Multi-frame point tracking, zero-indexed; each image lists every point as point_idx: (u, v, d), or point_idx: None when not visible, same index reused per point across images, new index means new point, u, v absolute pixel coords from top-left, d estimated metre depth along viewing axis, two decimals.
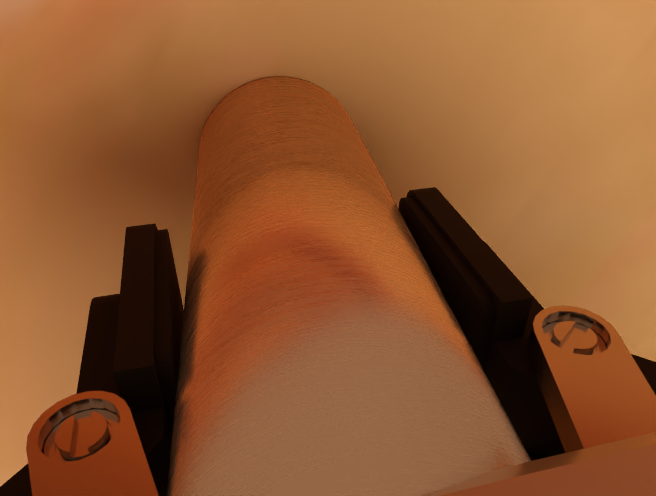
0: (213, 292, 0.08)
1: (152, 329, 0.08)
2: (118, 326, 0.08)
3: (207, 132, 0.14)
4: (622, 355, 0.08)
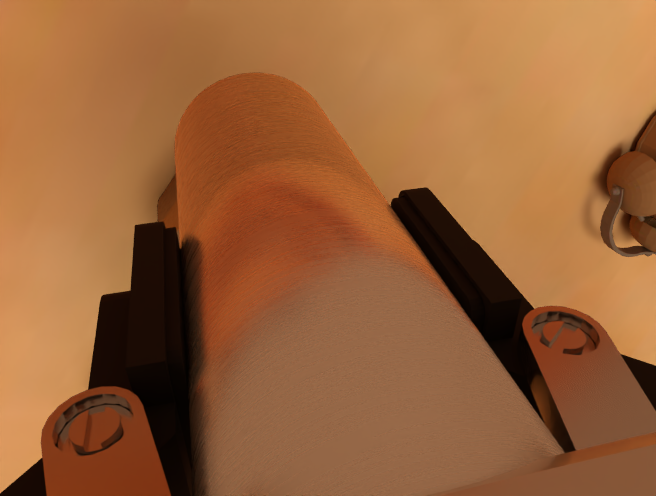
0: (219, 279, 0.08)
1: (164, 326, 0.08)
2: (130, 322, 0.08)
3: (184, 129, 0.14)
4: (611, 354, 0.08)
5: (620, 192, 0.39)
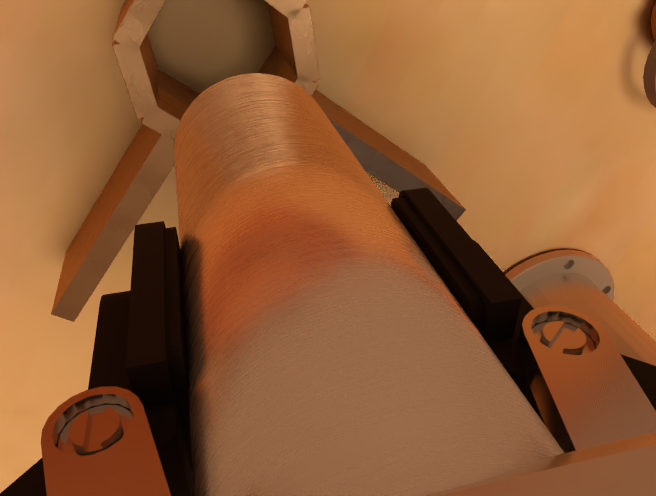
0: (220, 281, 0.08)
1: (164, 326, 0.08)
2: (129, 322, 0.08)
3: (184, 129, 0.14)
4: (611, 354, 0.08)
5: None
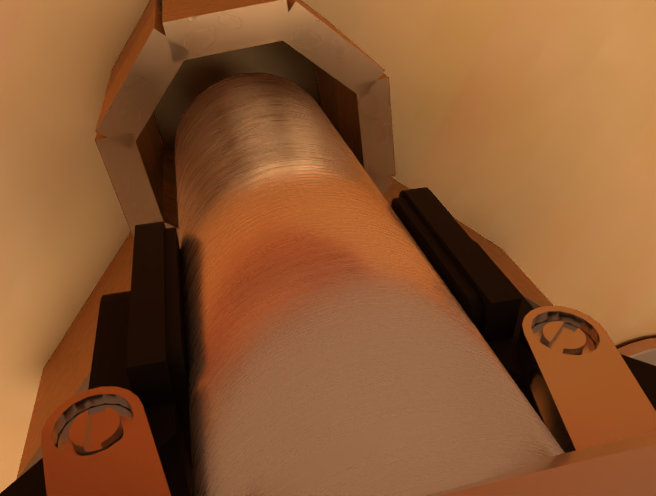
0: (220, 281, 0.08)
1: (163, 326, 0.08)
2: (130, 322, 0.08)
3: (184, 129, 0.14)
4: (611, 355, 0.08)
5: None
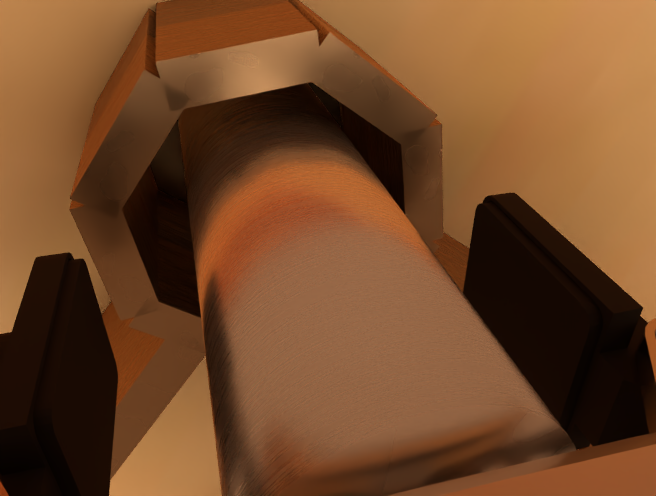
0: (223, 204, 0.10)
1: (36, 380, 0.07)
2: None
3: None
4: None
5: None
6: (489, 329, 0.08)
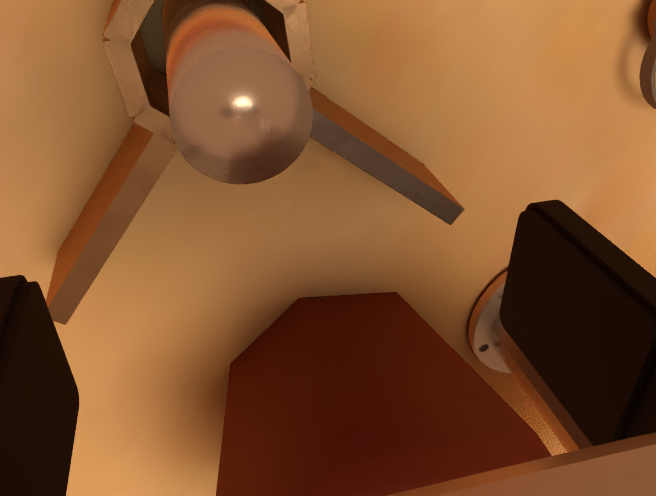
0: (178, 26, 0.21)
1: None
2: None
3: (167, 0, 0.27)
4: None
5: None
6: (285, 56, 0.19)
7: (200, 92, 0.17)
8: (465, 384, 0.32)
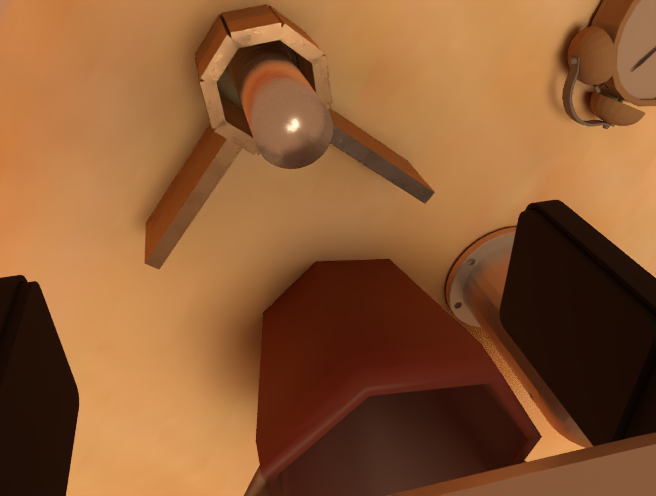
0: (250, 74, 0.35)
1: None
2: None
3: None
4: None
5: (577, 61, 0.46)
6: None
7: (271, 117, 0.30)
8: (435, 316, 0.45)
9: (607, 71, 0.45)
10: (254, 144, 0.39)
